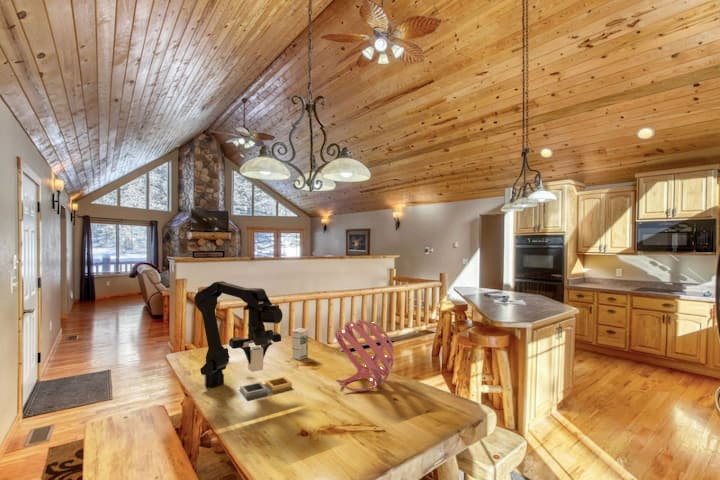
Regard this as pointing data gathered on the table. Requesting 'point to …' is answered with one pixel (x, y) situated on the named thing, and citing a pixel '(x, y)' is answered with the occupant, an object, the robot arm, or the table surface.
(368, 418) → the table surface
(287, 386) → the panel
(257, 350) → the plug
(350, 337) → the slotted curved sculpture
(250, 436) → the table surface
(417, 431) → the table surface
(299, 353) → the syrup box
